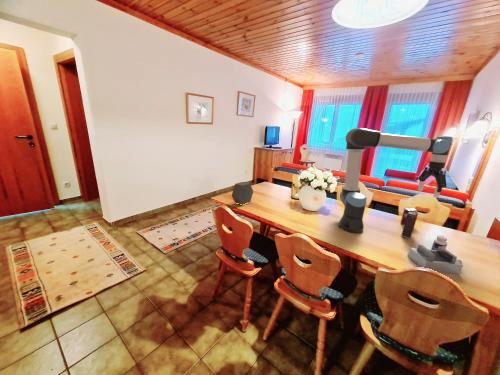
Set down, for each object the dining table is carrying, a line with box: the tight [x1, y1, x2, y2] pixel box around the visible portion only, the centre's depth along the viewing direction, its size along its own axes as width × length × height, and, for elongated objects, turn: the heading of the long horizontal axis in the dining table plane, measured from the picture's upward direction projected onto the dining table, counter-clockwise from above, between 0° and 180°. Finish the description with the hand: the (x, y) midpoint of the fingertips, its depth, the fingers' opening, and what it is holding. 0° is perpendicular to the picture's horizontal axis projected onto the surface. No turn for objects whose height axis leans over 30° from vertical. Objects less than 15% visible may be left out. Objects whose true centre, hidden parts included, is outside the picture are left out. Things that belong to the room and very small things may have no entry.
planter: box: [231, 181, 254, 206], centre depth 171 cm, size 17×8×21 cm
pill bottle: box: [430, 235, 448, 250], centre depth 112 cm, size 5×5×10 cm
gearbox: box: [407, 244, 464, 275], centre depth 102 cm, size 20×12×8 cm, turn 85°
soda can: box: [400, 207, 418, 226], centre depth 146 cm, size 7×7×12 cm
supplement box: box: [400, 210, 419, 240], centre depth 129 cm, size 9×5×16 cm, turn 137°
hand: (427, 193), depth 135 cm, fingers open, 13 cm apart
